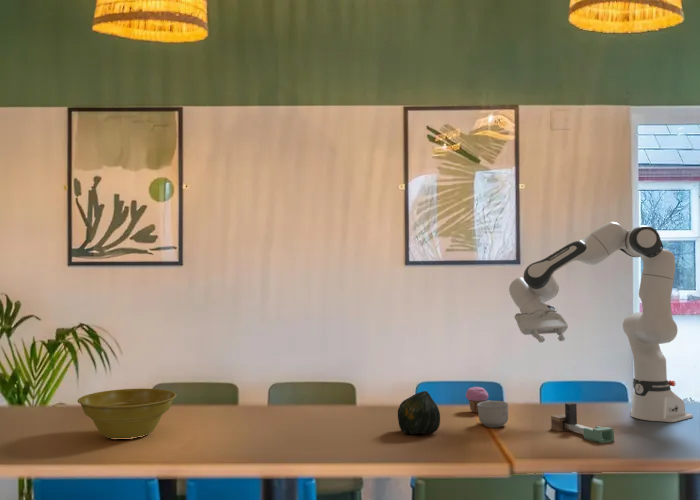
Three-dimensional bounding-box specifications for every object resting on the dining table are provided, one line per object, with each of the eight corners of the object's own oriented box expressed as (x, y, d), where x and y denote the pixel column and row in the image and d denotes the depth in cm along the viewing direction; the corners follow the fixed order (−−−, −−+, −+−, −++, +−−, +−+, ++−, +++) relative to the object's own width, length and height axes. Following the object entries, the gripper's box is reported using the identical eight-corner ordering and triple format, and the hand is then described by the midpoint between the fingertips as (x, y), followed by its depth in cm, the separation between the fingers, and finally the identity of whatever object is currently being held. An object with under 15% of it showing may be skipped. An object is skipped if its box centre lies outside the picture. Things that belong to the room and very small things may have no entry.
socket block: (567, 426, 225) (566, 413, 225) (575, 429, 221) (574, 416, 222) (551, 428, 222) (551, 415, 223) (559, 431, 219) (559, 418, 219)
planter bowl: (194, 434, 219) (194, 395, 220) (104, 454, 196) (105, 410, 196) (146, 420, 241) (147, 384, 242) (60, 436, 218) (61, 397, 218)
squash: (382, 416, 220) (405, 386, 214) (409, 411, 231) (431, 382, 225) (406, 449, 212) (431, 419, 206) (432, 442, 223) (457, 414, 217)
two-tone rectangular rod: (565, 425, 223) (564, 400, 224) (597, 435, 209) (596, 408, 210) (558, 426, 222) (557, 401, 222) (590, 436, 208) (589, 409, 209)
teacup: (509, 429, 222) (508, 406, 222) (477, 428, 224) (477, 405, 224) (507, 420, 235) (507, 399, 236) (477, 419, 237) (477, 398, 238)
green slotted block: (597, 436, 211) (597, 424, 211) (614, 441, 205) (613, 428, 205) (583, 438, 209) (583, 426, 209) (599, 443, 202) (599, 430, 203)
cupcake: (490, 414, 246) (490, 388, 247) (468, 414, 246) (467, 388, 247) (486, 409, 255) (485, 384, 255) (464, 409, 255) (464, 384, 256)
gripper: (516, 308, 239) (533, 336, 230) (559, 306, 247) (577, 334, 238) (509, 319, 243) (526, 347, 234) (551, 317, 251) (569, 344, 242)
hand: (552, 340), depth 236 cm, fingers open, 8 cm apart
